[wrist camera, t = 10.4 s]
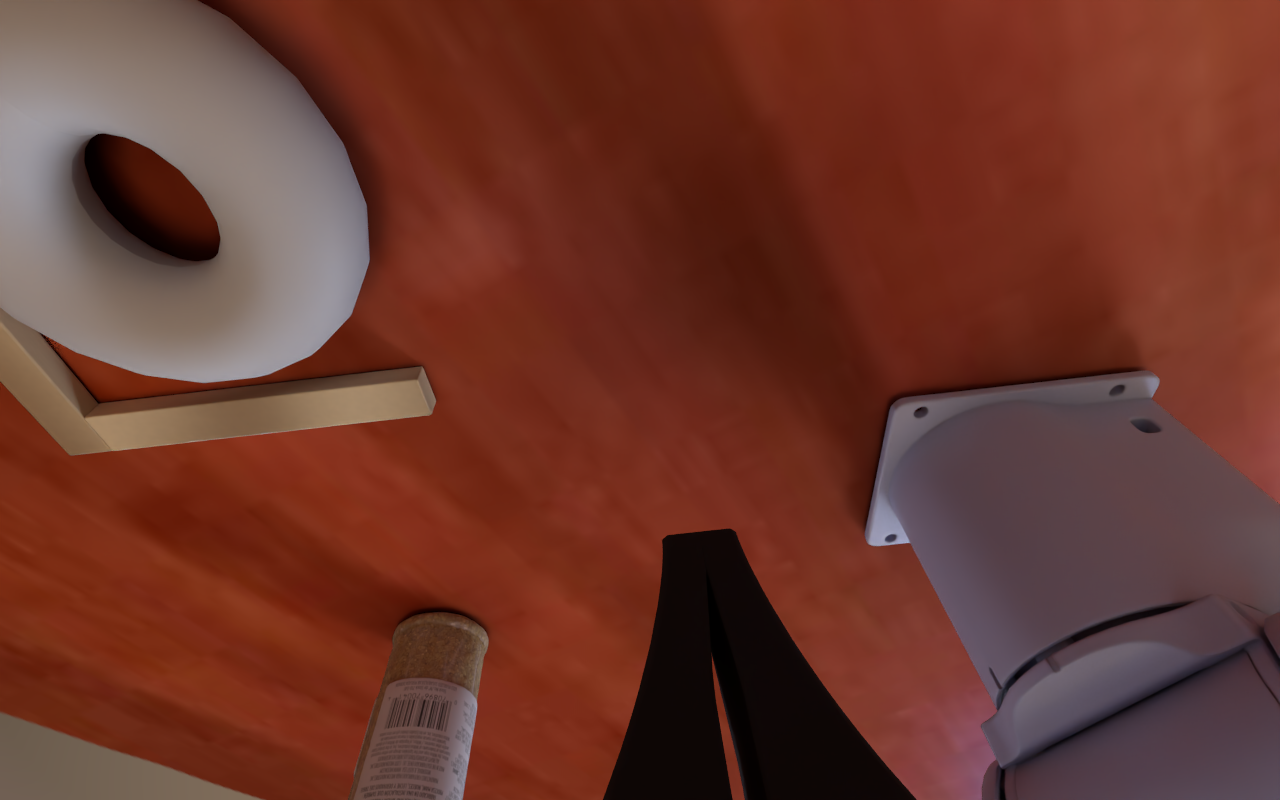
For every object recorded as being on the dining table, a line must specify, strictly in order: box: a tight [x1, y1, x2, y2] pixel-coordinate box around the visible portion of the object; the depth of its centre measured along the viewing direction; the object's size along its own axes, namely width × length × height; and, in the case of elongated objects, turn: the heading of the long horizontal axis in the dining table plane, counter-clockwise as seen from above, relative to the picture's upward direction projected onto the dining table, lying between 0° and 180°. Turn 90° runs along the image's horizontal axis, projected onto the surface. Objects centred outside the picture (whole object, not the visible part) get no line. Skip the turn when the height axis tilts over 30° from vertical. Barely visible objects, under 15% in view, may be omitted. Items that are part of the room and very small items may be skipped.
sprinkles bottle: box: [348, 612, 489, 800], centre depth 24 cm, size 5×5×13 cm
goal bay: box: [0, 308, 436, 455], centre depth 16 cm, size 12×16×1 cm
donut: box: [0, 0, 370, 383], centre depth 15 cm, size 10×3×10 cm
